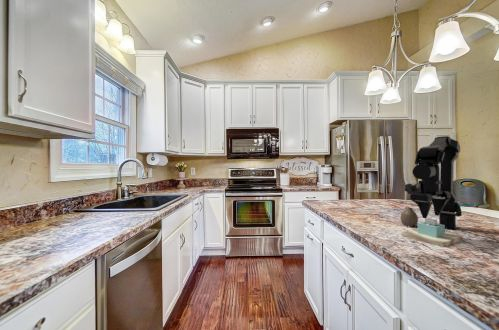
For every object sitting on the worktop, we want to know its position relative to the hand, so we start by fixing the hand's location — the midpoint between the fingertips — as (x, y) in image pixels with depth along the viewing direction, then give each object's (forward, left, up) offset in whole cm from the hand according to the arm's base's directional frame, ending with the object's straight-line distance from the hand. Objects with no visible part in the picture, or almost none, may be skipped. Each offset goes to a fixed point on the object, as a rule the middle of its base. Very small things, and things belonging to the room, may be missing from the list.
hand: (430, 216), depth 88 cm
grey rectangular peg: (0, 0, -7) cm, 7 cm away
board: (0, 0, -9) cm, 9 cm away
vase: (-11, -14, -9) cm, 20 cm away
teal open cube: (0, 0, -7) cm, 7 cm away
